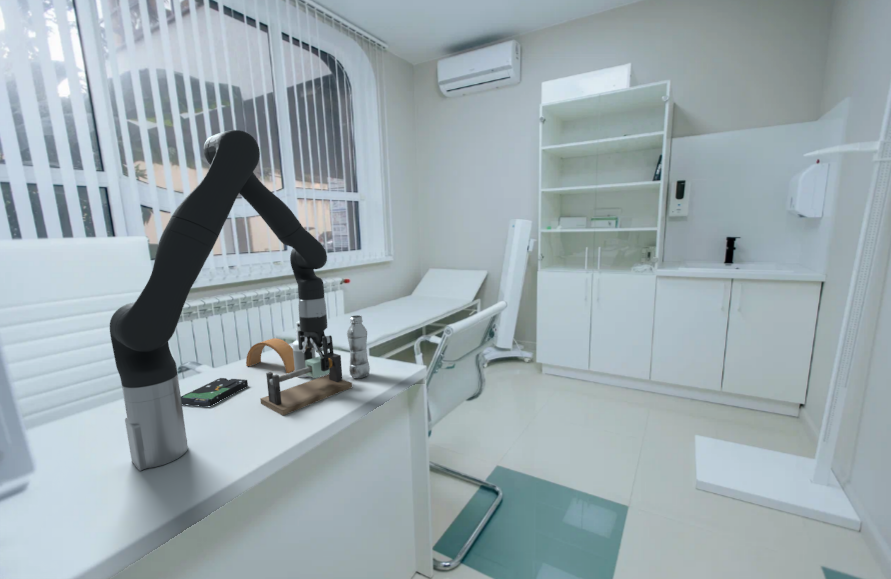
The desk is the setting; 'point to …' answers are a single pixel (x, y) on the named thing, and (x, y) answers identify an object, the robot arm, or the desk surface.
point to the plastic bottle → (358, 348)
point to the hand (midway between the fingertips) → (316, 367)
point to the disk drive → (213, 392)
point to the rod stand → (304, 388)
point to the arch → (279, 346)
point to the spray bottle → (300, 353)
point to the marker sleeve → (315, 367)
